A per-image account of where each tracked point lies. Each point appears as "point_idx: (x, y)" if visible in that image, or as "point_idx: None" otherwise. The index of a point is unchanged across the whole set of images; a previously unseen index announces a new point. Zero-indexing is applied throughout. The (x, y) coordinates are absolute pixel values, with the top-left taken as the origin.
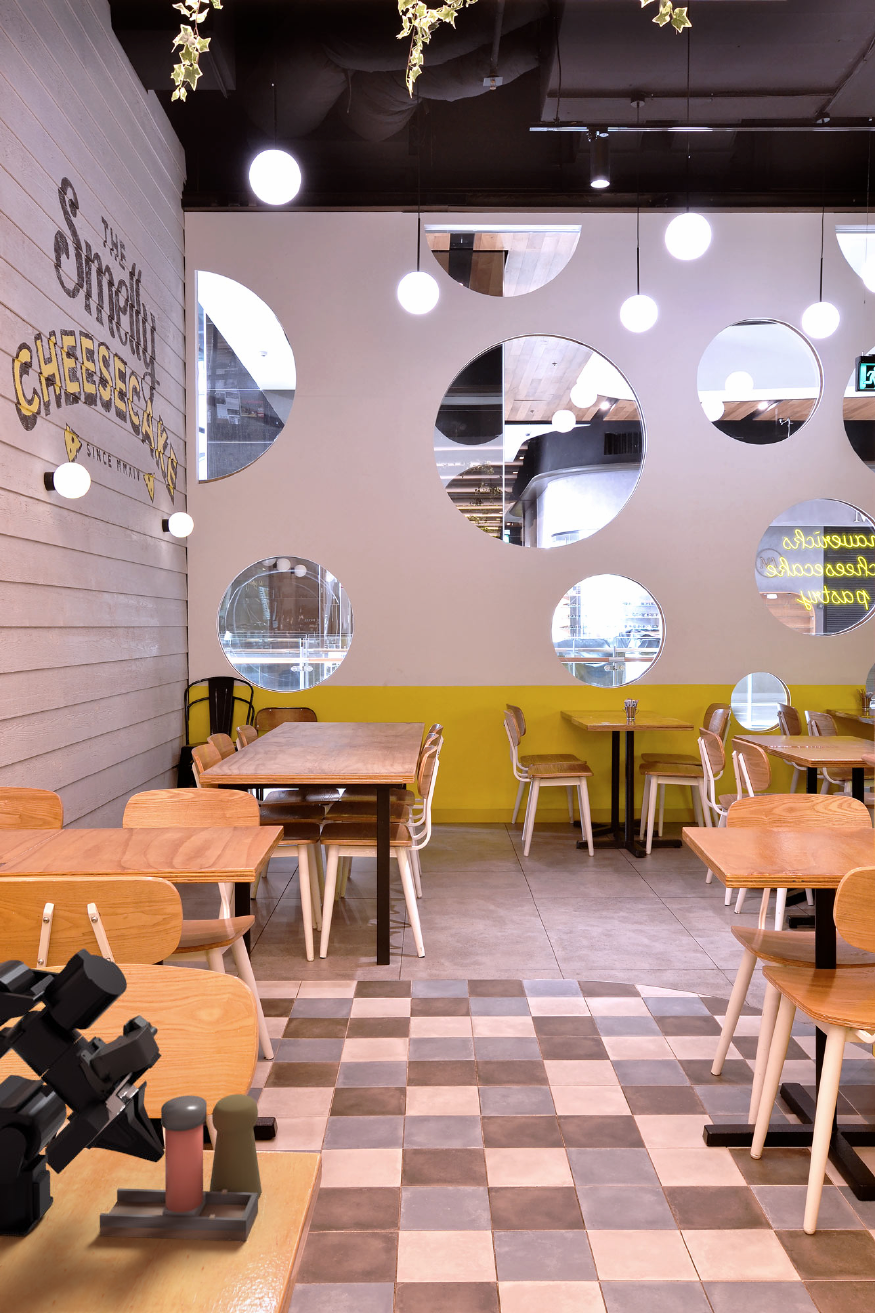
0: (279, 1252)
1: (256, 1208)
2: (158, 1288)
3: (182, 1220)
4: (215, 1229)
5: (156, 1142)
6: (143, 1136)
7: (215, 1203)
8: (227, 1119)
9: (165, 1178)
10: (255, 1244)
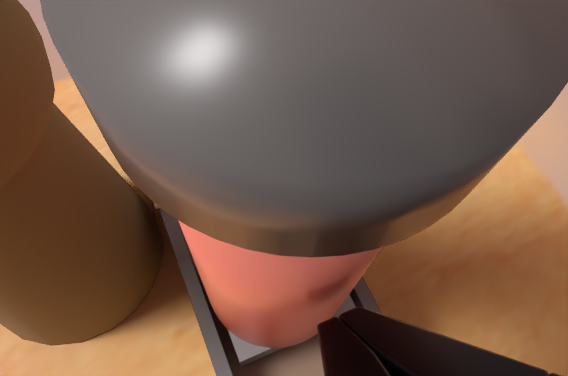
0: None
1: None
2: (497, 181)
3: None
4: None
5: (369, 353)
6: (535, 368)
7: (183, 236)
8: (17, 17)
9: (345, 298)
10: None
